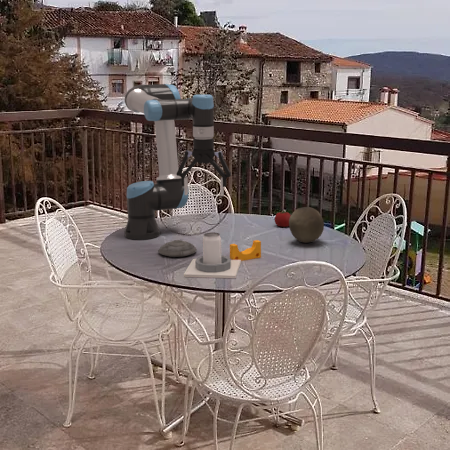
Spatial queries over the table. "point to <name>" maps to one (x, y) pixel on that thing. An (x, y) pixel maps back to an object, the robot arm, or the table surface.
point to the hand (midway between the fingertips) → (204, 194)
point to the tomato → (282, 219)
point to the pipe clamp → (246, 252)
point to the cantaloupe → (306, 224)
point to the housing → (213, 268)
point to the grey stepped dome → (177, 248)
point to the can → (212, 248)
